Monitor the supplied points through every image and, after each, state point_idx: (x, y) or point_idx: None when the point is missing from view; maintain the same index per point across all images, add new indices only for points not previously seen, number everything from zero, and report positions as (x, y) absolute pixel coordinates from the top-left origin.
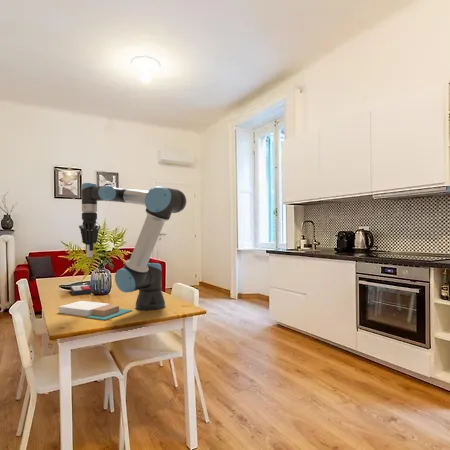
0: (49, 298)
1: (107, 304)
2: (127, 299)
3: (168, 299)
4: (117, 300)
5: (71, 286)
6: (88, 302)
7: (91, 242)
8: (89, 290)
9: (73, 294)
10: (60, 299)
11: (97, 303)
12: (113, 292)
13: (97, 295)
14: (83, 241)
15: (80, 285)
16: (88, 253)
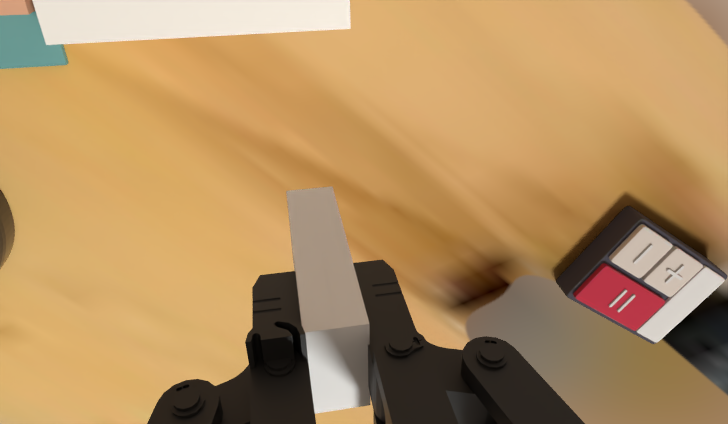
0: (720, 89)
1: (44, 18)
2: (231, 277)
3: (5, 376)
4: (265, 235)
5: (723, 278)
6: (247, 6)
7: (218, 394)
8: (573, 284)
9: (630, 209)
10: (632, 100)
11: (151, 10)
12: (455, 347)
13: (487, 265)
14: (497, 369)
15: (685, 315)
16: (297, 222)
